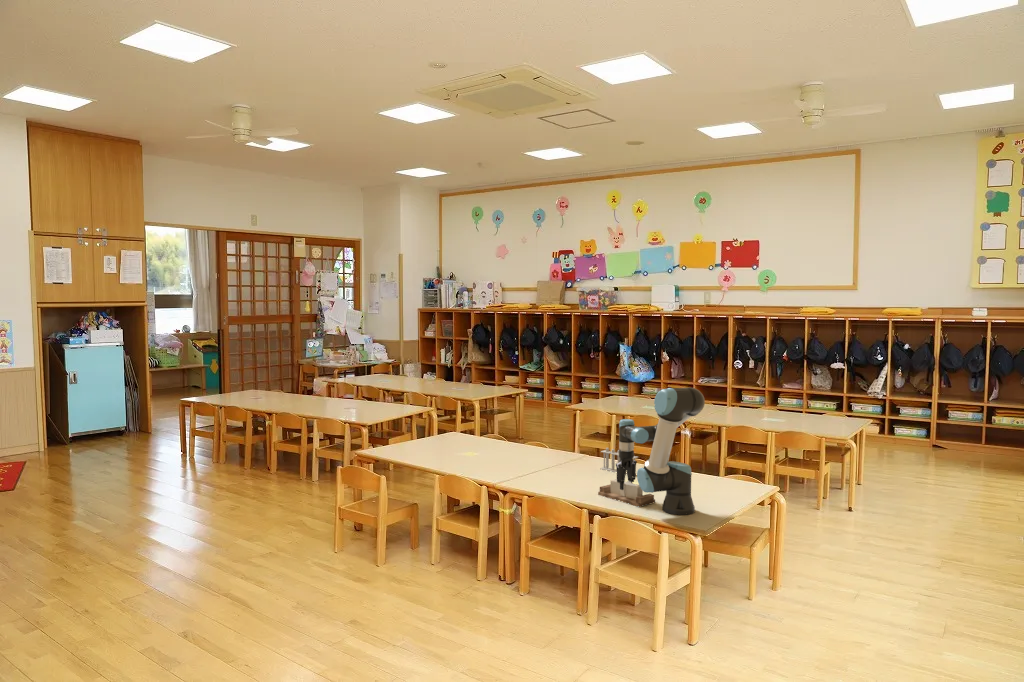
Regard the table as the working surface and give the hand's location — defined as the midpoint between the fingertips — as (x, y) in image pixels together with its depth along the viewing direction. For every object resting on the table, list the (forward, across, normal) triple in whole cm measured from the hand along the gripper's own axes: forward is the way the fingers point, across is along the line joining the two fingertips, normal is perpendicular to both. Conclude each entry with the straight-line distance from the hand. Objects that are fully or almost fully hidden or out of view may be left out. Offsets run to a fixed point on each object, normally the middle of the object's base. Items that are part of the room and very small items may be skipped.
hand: (626, 494), depth 362 cm
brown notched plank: (+2, 0, 0) cm, 2 cm away
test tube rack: (+2, -39, -41) cm, 56 cm away
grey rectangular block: (0, 0, 0) cm, 0 cm away
